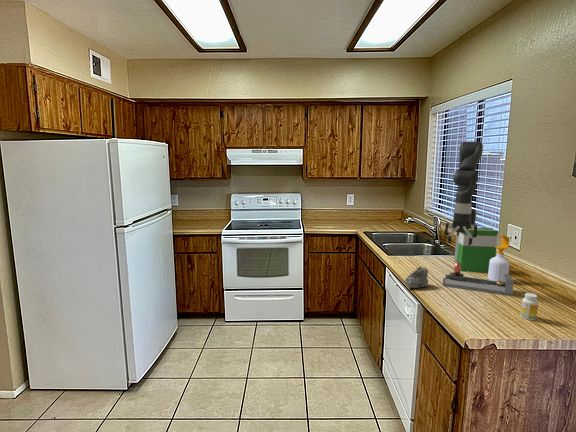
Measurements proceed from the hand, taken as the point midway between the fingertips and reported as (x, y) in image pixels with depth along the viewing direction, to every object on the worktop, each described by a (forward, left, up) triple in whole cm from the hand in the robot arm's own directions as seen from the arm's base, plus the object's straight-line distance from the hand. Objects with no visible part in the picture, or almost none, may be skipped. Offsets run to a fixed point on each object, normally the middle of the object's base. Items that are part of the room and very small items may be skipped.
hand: (459, 244), depth 172 cm
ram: (0, 0, -19) cm, 19 cm away
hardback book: (-32, +10, -21) cm, 40 cm away
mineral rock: (+11, -18, -21) cm, 30 cm away
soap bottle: (-18, +20, -21) cm, 34 cm away
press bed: (0, +9, -21) cm, 23 cm away
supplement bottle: (+28, +26, -21) cm, 44 cm away
